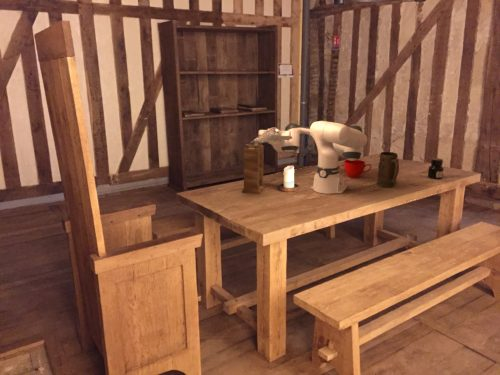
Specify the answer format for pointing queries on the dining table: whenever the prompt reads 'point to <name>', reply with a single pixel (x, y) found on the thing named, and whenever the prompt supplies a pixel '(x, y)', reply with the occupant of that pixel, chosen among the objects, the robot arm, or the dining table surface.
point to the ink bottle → (436, 169)
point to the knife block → (253, 168)
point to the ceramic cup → (355, 168)
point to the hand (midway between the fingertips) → (272, 130)
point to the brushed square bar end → (264, 136)
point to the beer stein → (387, 170)
